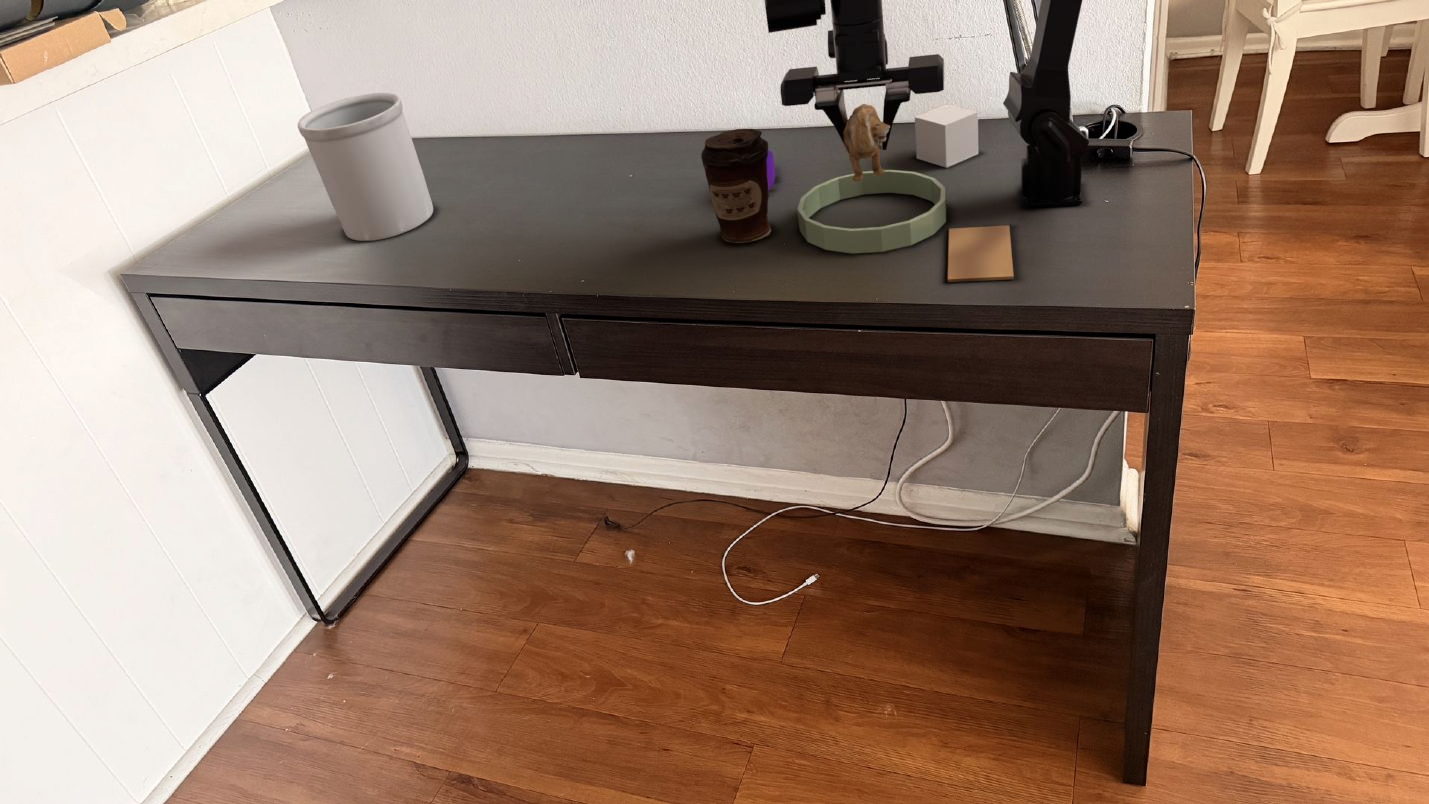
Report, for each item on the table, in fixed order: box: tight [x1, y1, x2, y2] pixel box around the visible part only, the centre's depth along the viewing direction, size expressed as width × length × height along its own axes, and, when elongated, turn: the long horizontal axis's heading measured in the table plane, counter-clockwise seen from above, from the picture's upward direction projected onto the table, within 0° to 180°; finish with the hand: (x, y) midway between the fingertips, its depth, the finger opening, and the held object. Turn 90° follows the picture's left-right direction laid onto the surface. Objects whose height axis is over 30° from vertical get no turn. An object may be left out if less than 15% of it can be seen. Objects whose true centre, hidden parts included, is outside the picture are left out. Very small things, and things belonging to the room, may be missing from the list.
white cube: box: [914, 103, 979, 169], centre depth 142 cm, size 6×6×6 cm
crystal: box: [767, 149, 776, 191], centre depth 145 cm, size 5×5×15 cm
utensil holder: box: [297, 92, 434, 242], centre depth 151 cm, size 15×15×18 cm
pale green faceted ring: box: [796, 169, 947, 254], centre depth 129 cm, size 18×18×3 cm
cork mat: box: [947, 224, 1014, 283], centre depth 118 cm, size 7×13×1 cm, turn 169°
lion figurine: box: [843, 103, 890, 182], centre depth 123 cm, size 15×5×9 cm, turn 179°
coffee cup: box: [700, 128, 772, 244], centre depth 129 cm, size 9×8×13 cm
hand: (867, 150), depth 125 cm, fingers closed on lion figurine, 4 cm apart
